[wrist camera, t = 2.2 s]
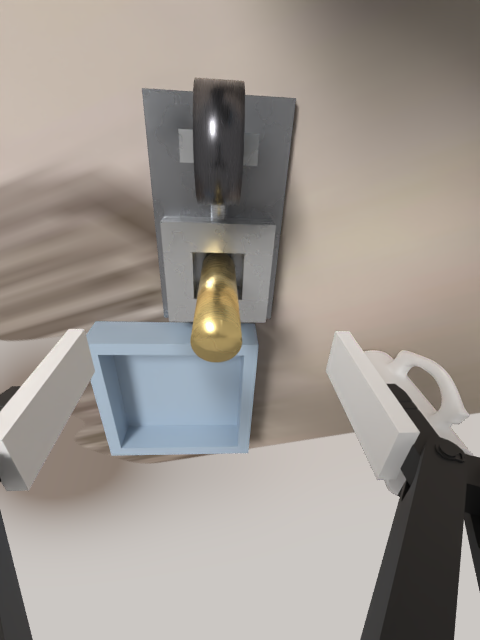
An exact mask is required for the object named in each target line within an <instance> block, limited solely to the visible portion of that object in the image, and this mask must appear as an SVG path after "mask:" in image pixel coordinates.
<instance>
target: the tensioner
mask: <svg viewBox="0 0 480 640" xmlns="http://www.w3.org/2000/svg"><path fill="white" fill-rule="evenodd" d="M142 94H143V105H144V115H145V125H146V135H147V146H148V156H149V166H150V176H151V186H152V197H153V207H154V217H155V227H156V237H157V248H158V258H159V268H160V278H161V288H162V299H163V309H164V317H168V318H169V321H181V322H193V320H194V314H195V308H196V302H197V295H198V289H199V283H200V277H201V270H202V264H203V261H204V259H205V258H206V257H207V256H208V255H210V254H212V253H225V254H227V255H228V256H230V257H231V258H232V260H233V262H234V264H235V273H236V283H237V293H238V303H239V313H240V322H259V323H266V319H271V311H272V302H273V293H274V285H275V276H276V267H277V259H278V250H279V241H280V233H281V224H282V215H283V207H284V198H285V189H286V181H287V172H288V163H289V155H290V146H291V137H292V129H293V120H294V111H295V103H296V98H284V97H269V96H253V95H245V85H244V81H235V80H221V79H206V78H195V80H194V88H193V92H191V91H176V90H161V89H145V88H142Z"/></svg>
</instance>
